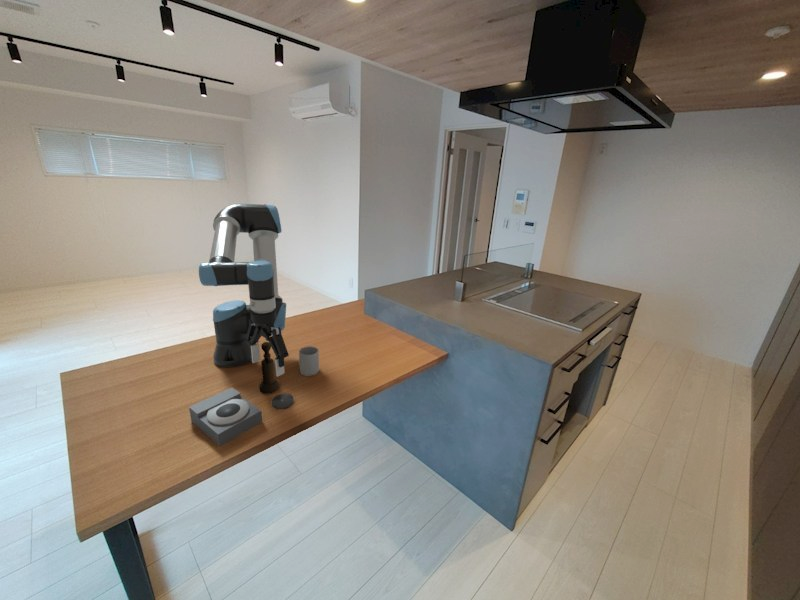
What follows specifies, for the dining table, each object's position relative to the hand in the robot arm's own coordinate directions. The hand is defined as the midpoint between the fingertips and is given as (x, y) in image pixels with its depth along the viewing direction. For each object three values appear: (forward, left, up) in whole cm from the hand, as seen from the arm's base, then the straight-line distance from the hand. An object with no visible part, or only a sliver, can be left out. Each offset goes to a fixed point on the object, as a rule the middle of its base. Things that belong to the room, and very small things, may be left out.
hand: (268, 367), depth 114 cm
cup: (0, +17, -9) cm, 19 cm away
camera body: (+5, -18, -9) cm, 20 cm away
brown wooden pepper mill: (0, 0, -9) cm, 9 cm away
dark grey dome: (+10, -2, -9) cm, 13 cm away
